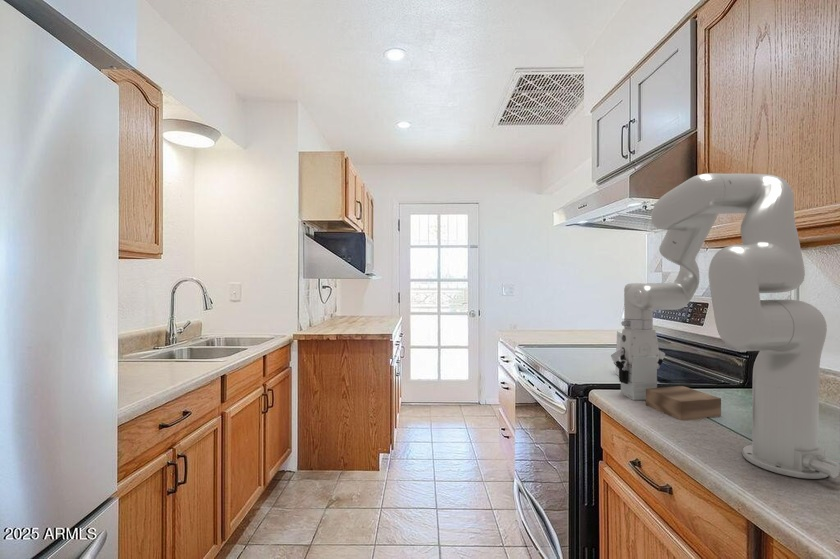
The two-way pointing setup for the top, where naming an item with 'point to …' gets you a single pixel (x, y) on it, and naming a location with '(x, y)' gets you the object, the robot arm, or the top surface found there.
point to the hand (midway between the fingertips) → (638, 381)
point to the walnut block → (683, 402)
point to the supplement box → (640, 377)
